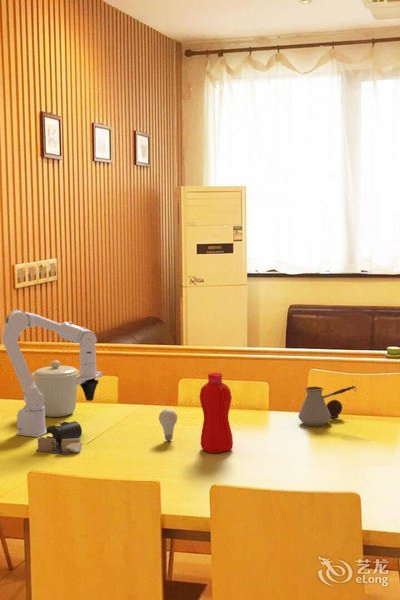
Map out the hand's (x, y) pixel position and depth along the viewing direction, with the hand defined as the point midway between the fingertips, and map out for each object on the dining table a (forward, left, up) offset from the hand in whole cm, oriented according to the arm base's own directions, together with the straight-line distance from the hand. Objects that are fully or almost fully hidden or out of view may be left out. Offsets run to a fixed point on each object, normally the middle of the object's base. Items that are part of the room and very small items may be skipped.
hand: (89, 400), depth 289 cm
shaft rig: (+7, -29, -10) cm, 31 cm away
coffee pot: (+79, +31, -10) cm, 85 cm away
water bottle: (+55, -10, -10) cm, 57 cm away
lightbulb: (+35, -6, -10) cm, 37 cm away
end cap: (+3, -21, -10) cm, 23 cm away
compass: (+76, +42, -10) cm, 87 cm away
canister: (-23, +12, -10) cm, 28 cm away
